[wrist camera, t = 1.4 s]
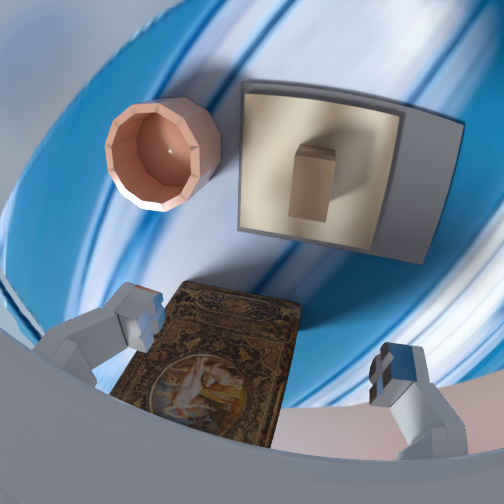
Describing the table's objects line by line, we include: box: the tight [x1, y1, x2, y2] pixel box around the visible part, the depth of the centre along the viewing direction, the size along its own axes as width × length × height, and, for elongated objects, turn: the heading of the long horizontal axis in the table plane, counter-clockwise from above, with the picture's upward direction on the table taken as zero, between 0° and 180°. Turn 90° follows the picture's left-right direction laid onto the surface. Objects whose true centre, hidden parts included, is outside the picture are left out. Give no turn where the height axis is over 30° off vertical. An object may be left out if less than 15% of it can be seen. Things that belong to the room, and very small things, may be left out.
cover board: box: [240, 93, 399, 250], centre depth 23 cm, size 13×13×5 cm
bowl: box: [105, 98, 221, 212], centre depth 26 cm, size 10×10×5 cm
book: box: [109, 281, 301, 448], centre depth 27 cm, size 16×6×25 cm, turn 89°
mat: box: [237, 82, 464, 265], centre depth 25 cm, size 20×15×1 cm
